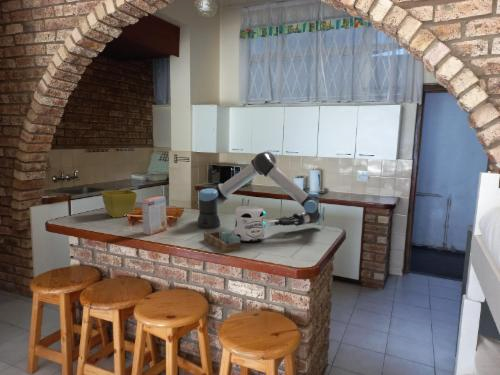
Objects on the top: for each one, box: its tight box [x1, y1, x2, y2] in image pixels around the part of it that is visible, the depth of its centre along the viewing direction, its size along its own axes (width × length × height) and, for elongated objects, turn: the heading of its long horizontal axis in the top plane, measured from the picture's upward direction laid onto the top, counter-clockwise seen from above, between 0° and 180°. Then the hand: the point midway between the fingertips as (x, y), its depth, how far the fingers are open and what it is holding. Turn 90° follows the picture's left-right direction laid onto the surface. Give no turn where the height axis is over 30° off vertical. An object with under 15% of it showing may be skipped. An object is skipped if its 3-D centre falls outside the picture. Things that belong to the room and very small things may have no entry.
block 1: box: [220, 230, 233, 243], centre depth 198 cm, size 4×4×4 cm
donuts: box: [263, 210, 267, 228], centre depth 228 cm, size 10×10×10 cm
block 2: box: [228, 235, 241, 244], centre depth 191 cm, size 4×4×4 cm
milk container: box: [233, 205, 266, 243], centre depth 199 cm, size 17×17×18 cm
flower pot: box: [101, 189, 138, 219], centre depth 252 cm, size 19×19×17 cm
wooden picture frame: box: [203, 231, 241, 253], centre depth 191 cm, size 24×9×4 cm, turn 33°
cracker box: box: [141, 195, 168, 236], centre depth 211 cm, size 14×6×21 cm, turn 149°
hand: (269, 223), depth 207 cm, fingers closed
